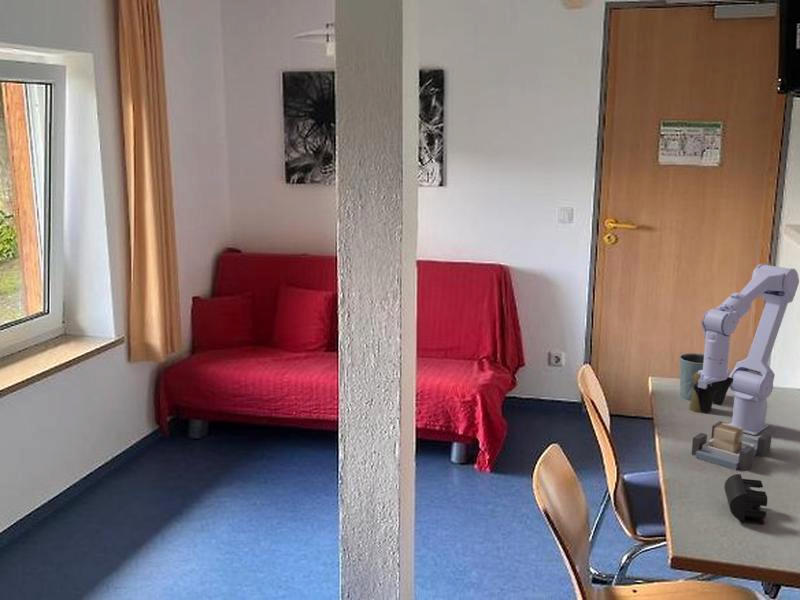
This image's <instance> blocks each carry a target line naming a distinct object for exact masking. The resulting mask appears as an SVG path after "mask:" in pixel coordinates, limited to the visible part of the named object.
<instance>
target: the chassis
mask: <svg viewBox="0 0 800 600" xmlns="http://www.w3.org/2000/svg"><path fill="white" fill-rule="evenodd" d="M722 423H725V424H727V422H724V421H722V420H721V421H720V420H719V421H718V422H716V423H714V424H713V425H712V427H711V428H712V429H711V437H710V440H708V441H707V439H708V434H707V433H703V432H700V433H698V434H697V435H695V436H693V437H692V446H691V456H695V455H696V456H695V458H696V459H698V458H699V459H698V460H701V459H702V460H701V461H704V460H705V461H704V462H708V461H709V463H711V462H712V463H711V464H714V463H715V465H718V464H719V466H721V465H722V466H721V467H724V466H725V468H728V467H729V468H728V469H731V468H732V470H734V471H736V470H737V469H739V470H742V471H746V470H747V469H749V468H750V467H751V466H752V465H753V461H754V460H753V459H754V457H756V456H760V457H765V456H766V455H767V454H769V453H770V451H771V445H772V434H769V433H766V432H765V433H763V434H762V435H760V436H759V437H758V438H757V439H755V438H751V437H746V436H743V435H742V445H741V450H739V451H738V452H736V453H731V452H728V451H724V450H721V449H717V448H714V447H713V439H714V428H716V427H717V426H719V425H721V424H722Z"/></svg>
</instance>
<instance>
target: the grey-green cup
mask: <svg viewBox="0 0 800 600" xmlns="http://www.w3.org/2000/svg"><path fill="white" fill-rule="evenodd" d="M703 362H704V353H696V352H695V353H692V352H689V353H684V354H681V355H680V356H679V383H680V384H679V385H680V388H679V390H680V391H679V392H680V393H679V395H680V397H681V398H682V399H685V400H686V401H689V402H691V398H692V394H693V390H694V384H695V382H694V379H693V377H694V374H695V373H696V372H698V371H699V370H703ZM711 386H712V385H711Z"/></svg>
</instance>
